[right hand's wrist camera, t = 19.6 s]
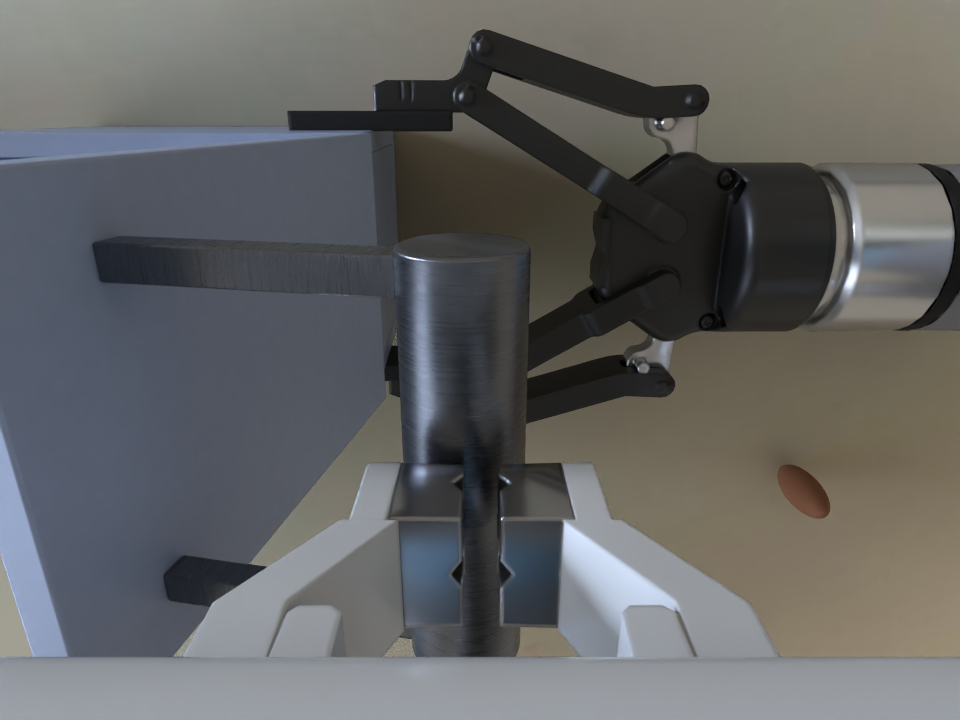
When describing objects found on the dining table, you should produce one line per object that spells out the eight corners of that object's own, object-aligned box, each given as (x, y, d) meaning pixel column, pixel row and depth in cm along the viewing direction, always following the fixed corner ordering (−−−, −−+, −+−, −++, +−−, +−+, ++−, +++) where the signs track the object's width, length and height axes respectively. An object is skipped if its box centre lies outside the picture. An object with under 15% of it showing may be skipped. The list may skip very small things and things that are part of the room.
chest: (135, 315, 37) (6, 396, 27) (97, 126, 33) (-70, 133, 23) (401, 313, 37) (377, 392, 27) (393, 126, 34) (361, 132, 23)
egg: (787, 449, 41) (828, 492, 36) (805, 468, 41) (848, 513, 37) (761, 469, 41) (799, 515, 37) (780, 488, 42) (819, 535, 37)
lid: (58, 741, 12) (493, 833, 10) (-126, 170, 8) (500, 181, 7) (366, 396, 27) (567, 413, 25) (348, 132, 23) (582, 133, 21)
